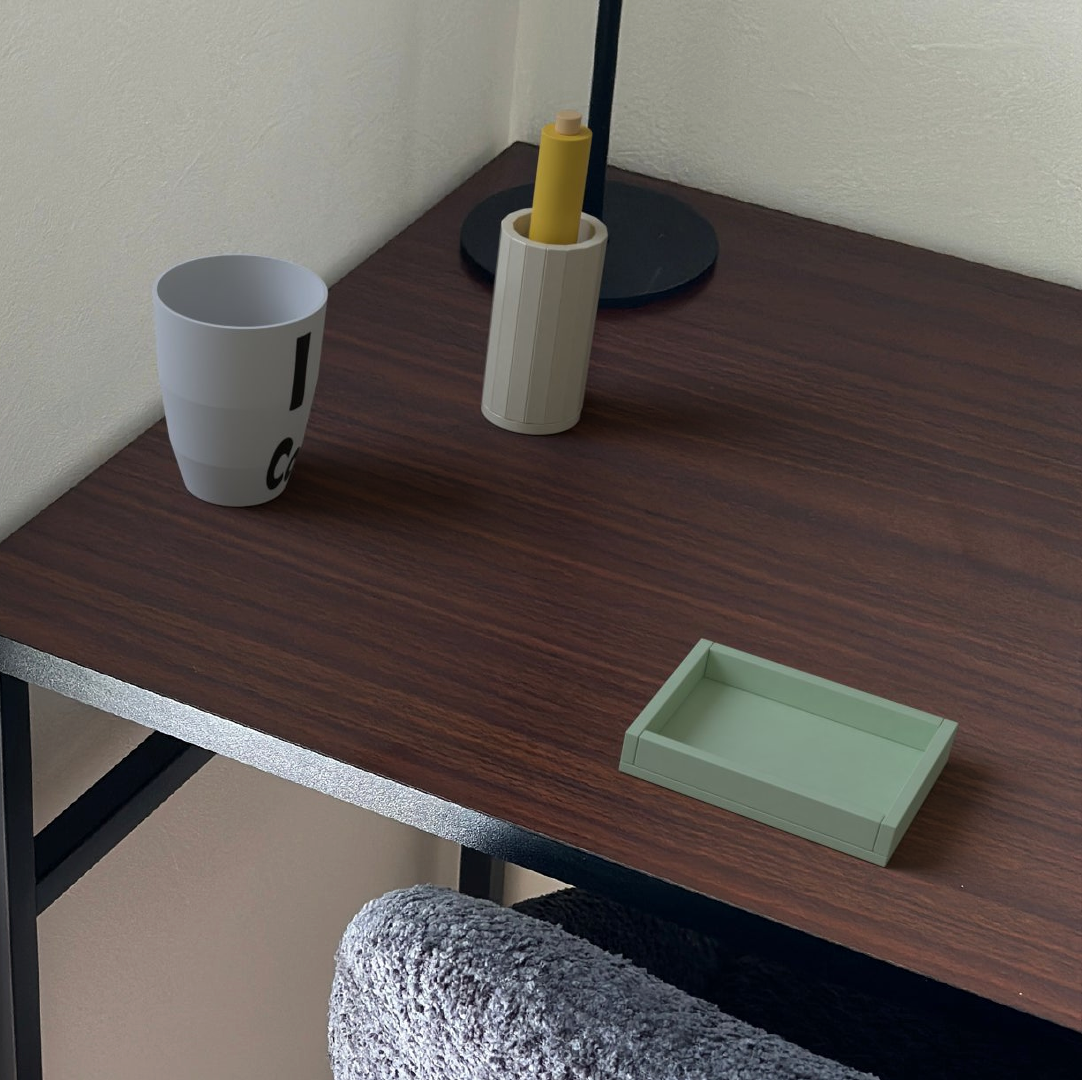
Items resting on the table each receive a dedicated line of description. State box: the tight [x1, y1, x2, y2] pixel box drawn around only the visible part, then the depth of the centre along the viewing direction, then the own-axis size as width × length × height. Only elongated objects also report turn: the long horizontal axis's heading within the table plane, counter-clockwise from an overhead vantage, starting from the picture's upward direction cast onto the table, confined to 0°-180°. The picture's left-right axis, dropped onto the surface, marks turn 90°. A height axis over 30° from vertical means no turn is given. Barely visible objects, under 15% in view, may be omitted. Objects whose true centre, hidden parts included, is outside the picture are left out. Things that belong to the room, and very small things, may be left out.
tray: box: [618, 638, 960, 868], centre depth 85 cm, size 11×8×2 cm
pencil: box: [529, 109, 593, 245], centre depth 104 cm, size 2×2×15 cm
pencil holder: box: [480, 207, 609, 436], centre depth 106 cm, size 5×5×10 cm
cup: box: [152, 253, 329, 507], centre depth 99 cm, size 8×8×10 cm
